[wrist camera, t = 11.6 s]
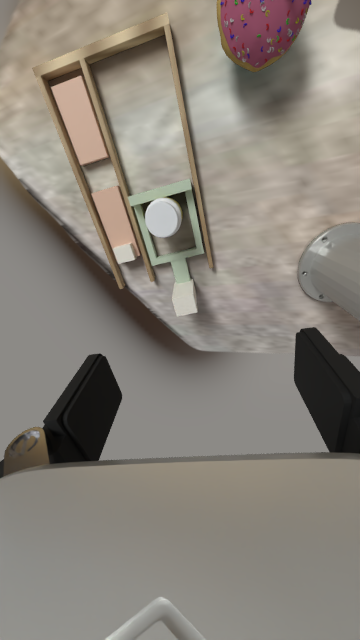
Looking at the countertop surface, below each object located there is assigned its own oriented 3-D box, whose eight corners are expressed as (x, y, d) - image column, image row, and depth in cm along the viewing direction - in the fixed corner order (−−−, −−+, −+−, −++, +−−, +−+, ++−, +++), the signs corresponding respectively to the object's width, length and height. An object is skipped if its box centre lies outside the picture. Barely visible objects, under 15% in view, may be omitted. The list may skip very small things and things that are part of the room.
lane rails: (168, 21, 25) (167, 12, 24) (212, 265, 38) (213, 267, 37) (39, 74, 28) (32, 68, 26) (122, 285, 40) (119, 288, 39)
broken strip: (84, 79, 28) (75, 69, 25) (141, 255, 38) (138, 258, 36) (55, 90, 28) (44, 82, 26) (119, 260, 38) (114, 264, 36)
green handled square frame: (189, 179, 32) (189, 176, 26) (211, 291, 40) (215, 308, 34) (132, 196, 33) (119, 197, 27) (164, 301, 41) (160, 319, 35)
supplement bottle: (164, 237, 36) (157, 248, 29) (145, 210, 34) (133, 215, 27) (189, 218, 35) (188, 225, 27) (170, 189, 33) (164, 188, 26)
